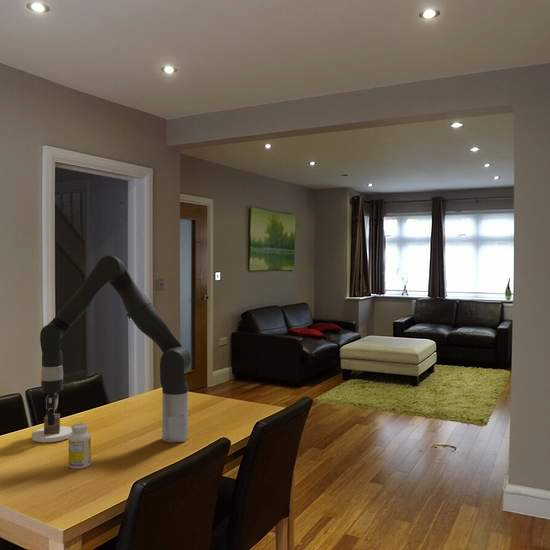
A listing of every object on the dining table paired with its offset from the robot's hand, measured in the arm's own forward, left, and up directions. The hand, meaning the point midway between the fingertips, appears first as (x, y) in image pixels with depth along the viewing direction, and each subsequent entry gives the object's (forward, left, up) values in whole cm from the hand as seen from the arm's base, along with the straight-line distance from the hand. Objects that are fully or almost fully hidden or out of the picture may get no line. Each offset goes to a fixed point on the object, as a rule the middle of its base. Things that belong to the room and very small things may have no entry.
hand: (52, 421), depth 196 cm
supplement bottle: (-32, -11, -6) cm, 34 cm away
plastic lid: (0, 0, -6) cm, 7 cm away
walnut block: (0, 0, -4) cm, 4 cm away
